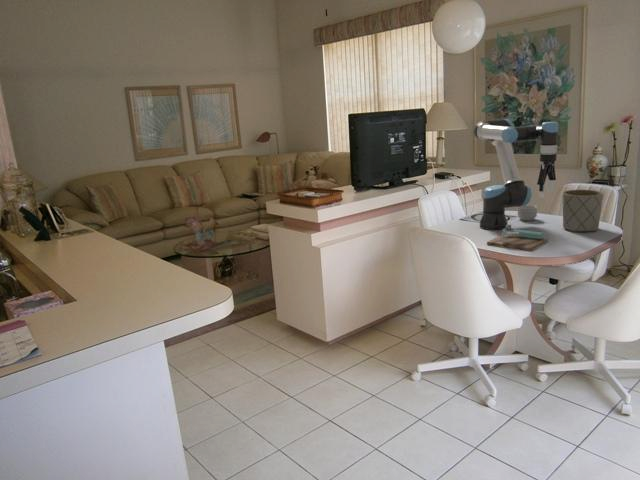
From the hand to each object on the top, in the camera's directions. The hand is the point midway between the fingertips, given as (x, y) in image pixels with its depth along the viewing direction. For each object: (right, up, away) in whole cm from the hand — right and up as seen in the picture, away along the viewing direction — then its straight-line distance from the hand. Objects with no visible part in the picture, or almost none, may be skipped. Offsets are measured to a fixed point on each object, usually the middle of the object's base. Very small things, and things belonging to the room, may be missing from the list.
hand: (545, 195), depth 255 cm
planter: (+24, -17, +13) cm, 33 cm away
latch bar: (-12, -21, 0) cm, 24 cm away
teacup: (+8, -11, +42) cm, 45 cm away
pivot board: (-16, -25, -4) cm, 30 cm away
